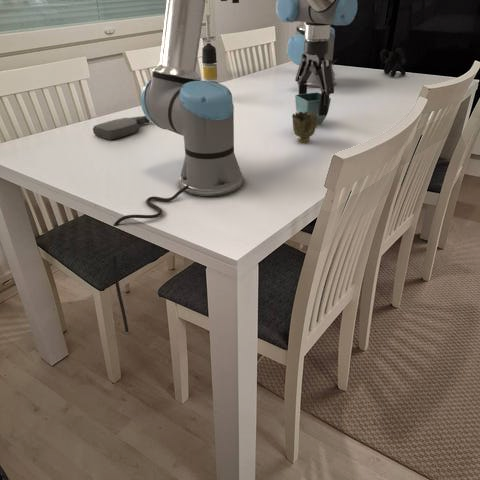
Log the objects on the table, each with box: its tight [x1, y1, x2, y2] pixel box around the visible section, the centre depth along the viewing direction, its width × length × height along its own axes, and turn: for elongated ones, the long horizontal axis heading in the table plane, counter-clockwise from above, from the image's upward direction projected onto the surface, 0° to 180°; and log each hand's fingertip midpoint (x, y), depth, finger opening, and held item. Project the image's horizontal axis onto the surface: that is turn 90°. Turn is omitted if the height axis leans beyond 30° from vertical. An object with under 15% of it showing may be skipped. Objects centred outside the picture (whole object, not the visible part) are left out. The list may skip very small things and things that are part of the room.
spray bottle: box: [92, 115, 151, 141], centre depth 147 cm, size 3×11×25 cm
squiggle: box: [379, 47, 407, 78], centre depth 207 cm, size 11×10×15 cm
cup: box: [291, 112, 318, 144], centre depth 132 cm, size 8×7×8 cm
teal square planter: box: [294, 91, 332, 126], centre depth 147 cm, size 9×9×9 cm
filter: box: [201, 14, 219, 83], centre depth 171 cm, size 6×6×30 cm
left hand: (312, 109), depth 147 cm, fingers open, 13 cm apart
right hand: (229, 2), depth 189 cm, fingers open, 13 cm apart
